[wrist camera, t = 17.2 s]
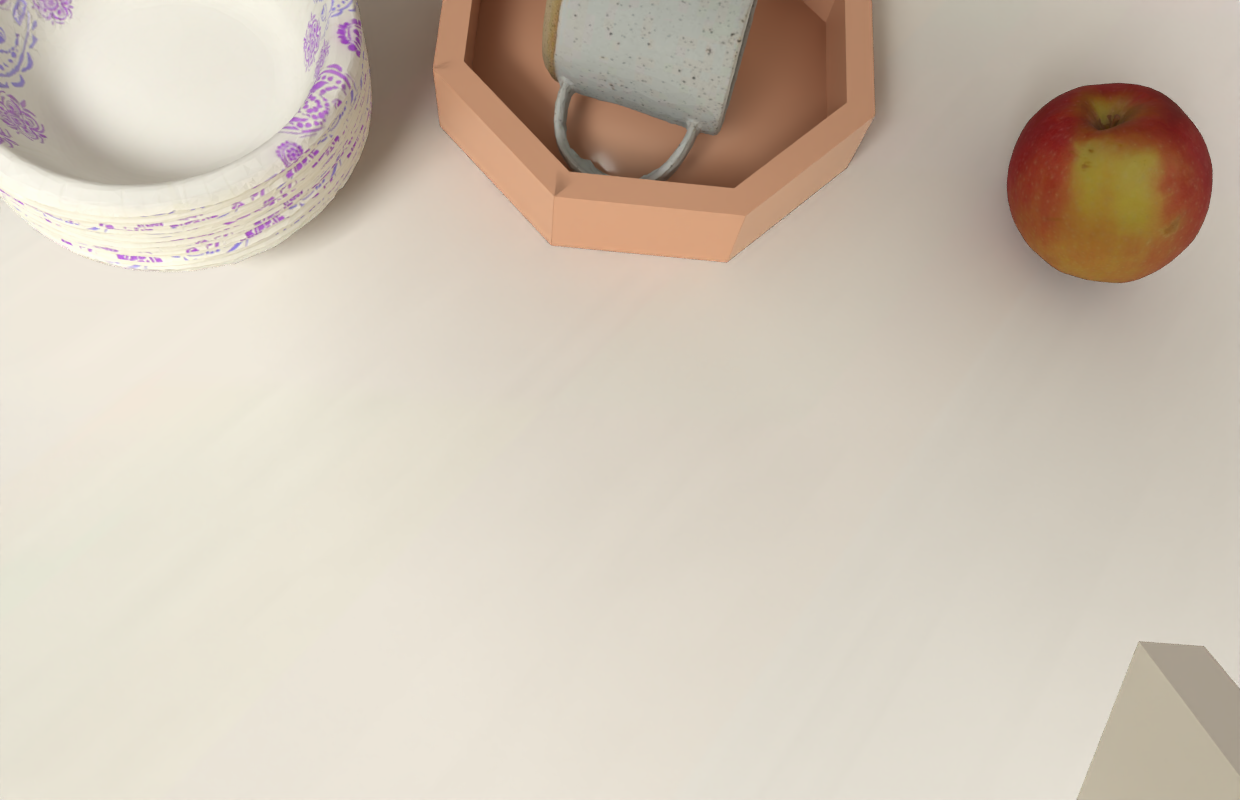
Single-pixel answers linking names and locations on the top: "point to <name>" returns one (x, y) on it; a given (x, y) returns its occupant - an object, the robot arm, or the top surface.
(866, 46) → the terracotta bowl
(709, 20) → the ceramic mug
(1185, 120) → the apple
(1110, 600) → the top surface
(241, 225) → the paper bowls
